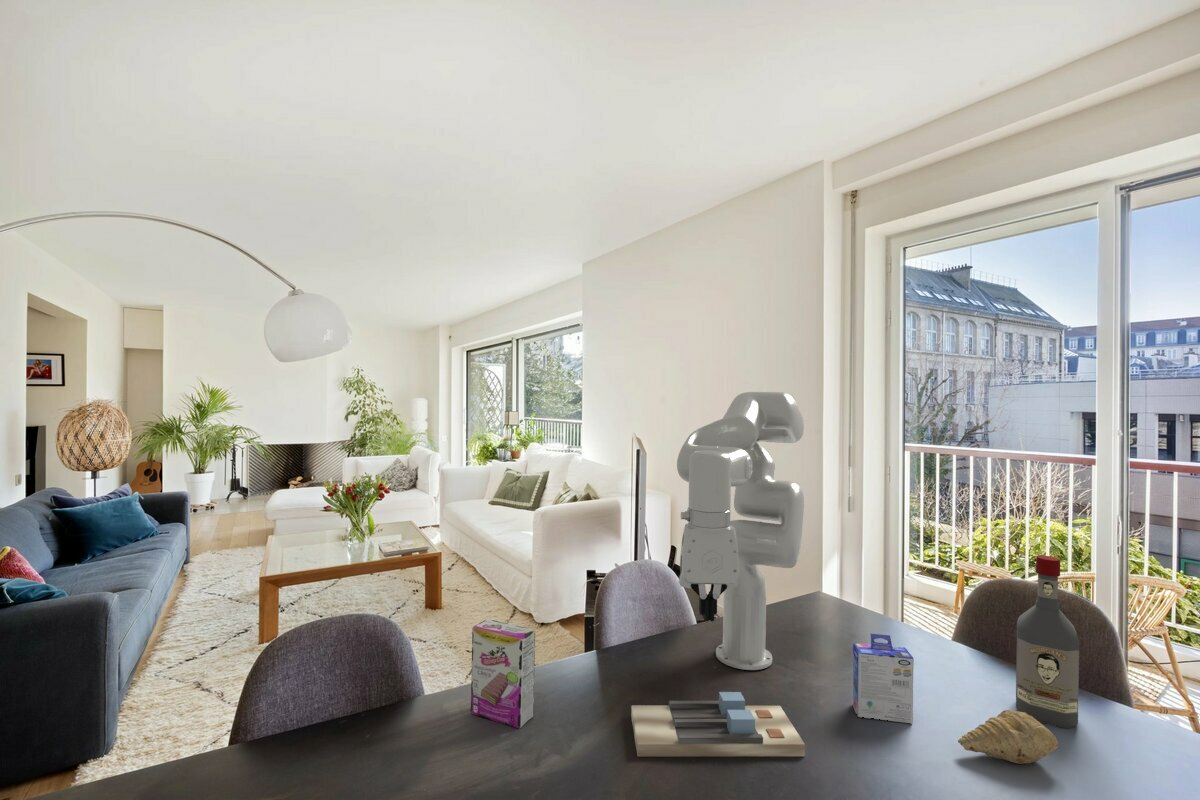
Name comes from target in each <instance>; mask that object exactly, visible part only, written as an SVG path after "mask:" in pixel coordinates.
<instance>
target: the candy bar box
mask: <svg viewBox="0 0 1200 800" xmlns="http://www.w3.org/2000/svg"><path fill="white" fill-rule="evenodd" d="M471 628H472V631H471V632H472V634H471V639H472V640H471V677H470V679H471V685H470V686H471V687H470V691H471V694H470V695H471V696H470V714H471V715H475V716H477V717H482V718H485V719H487V720H490V721H494V722H497V723H500V724H504V725H508V726H510V727H514V728H517V729H521V728H522V727H524V726H525V724H527V723H528V722H529V721H530V720H531V719H532V718H533V717H534V709H535V708H534V707H535V662H536V661H535V659H536V657H535V655H536V650H535V649H536V630H535V629H533V628H528V627H525V626H524V627H523V626H519V625H516V624H515V625H514V624H511V623H507V622H503V621H502V622H501V621H497V620H493V619H489V618H487V619H484V620H482V621H481V622H480V623H479V622H478V623H477V624H476V625H474V626H473V627H471Z"/></svg>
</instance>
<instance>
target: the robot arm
mask: <svg viewBox="0 0 1200 800" xmlns="http://www.w3.org/2000/svg"><path fill="white" fill-rule="evenodd" d="M804 421H805V420H804V417H803V414H802V411H801V410H800V408H799V406H798V404H797V402H796V400H795V399H794V397H793V396H792V395H790V394H789V393H786V392H783V391H769V392H768V391H748V392H742V393H740V394H737V396H735V397H734V398H733V400H732V401H731V403H730V405H729V406H728V409H727V411H726V412H725V414H724V416H723V417H722V418H720V419H718V420H714V421H713V422H711V423H709V424H706V425H704V426H701V427H699V428H698V429H696V430H694V431H693V432H691V433H690V434H689V436H688V437H687V438H686V439H685V441H684V443H683V445H682V446H681V449H680V450H679V452H678V455H677V459H676V470H677V472H678V475H679V477H680V478H681V479H682V480H683V481H685V482H687V483H688V507H687V509H686V511H680V520H684V521H687V523H685V524H684V527H683V532H682V539H681V546H680V547H681V548H680V558H679V571H680V576H679V578H678V579H679V580H678V584H679V586H680V587H682V588H686V589H690V590H692V591H694V593H696V595H697V596H698V598H699V599H698V600H699V601H698V604H699V605H698V612H699V615H700V616H702V618H703V620H704V621H705V622H709V621H710V622H715V615H716V616H717V615H718V600H719V599H720V597H721V595H722V594H723V608H722V609H723V611H722V612H723V613H722V614H723V616H722V620H723V621H722V622H723V623H722V643H721V644H719V645H718V646H717V647H716V649H715V656H716V659H718V661H720V662H721V663H723V664H724V665H726V666H729V667H731V668H734V669H739V670H745V671H759V670H763V669H766V668H768V667H770V666H771V665H772V664H773V655H772V653H771V651H769V650H768V649H766V639H767V638H766V636H767V635H766V631H767V581H766V579H765V576H764V574H763V573H762V571H761V570H760V568H759V567H758V566H765V567H771V568H779V569H792V568H795V566H797V564H798V562H799V560H800V559H799V558H800V554H801V546H802V535H803V523H804V515H805V514H804V513H805V512H804V511H805V499H804V498H805V497H804V493H803V489H802V488H801V486H800V485H799V484H798V483H795V482H794V481H793V482H792V481H788V480H776V479H775V478H774V477H775V470H776V464H775V461H774V460H773V458H772V457H771V455H770V454H769V452H768V451H767V450H766V448H764V447H763V446H762V445H761V444H760V443H777V444H778V443H779V444H793V443H798V442H799V441H800V440H801V439H802V437H803V435H804V428H805V422H804ZM732 487H734V488H735V490H734V495H733V496H734V497H733V507H734V511H735V512H736V514H737V515H739V516H740V517H744V518H748V519H752V520H747V519H733V520H731V499H732V498H731V497H732V496H731V493H732V492H731V491H732V489H731V488H732ZM756 520H757V521H756ZM758 520H761V521H758ZM763 521H771V522H772V523H771V522H763ZM774 522H778V523H774ZM706 585H710V588H709V591H708V593H707V589H706Z"/></svg>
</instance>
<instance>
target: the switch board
mask: <svg viewBox="0 0 1200 800" xmlns="http://www.w3.org/2000/svg"><path fill="white" fill-rule="evenodd" d="M630 709H631V710H630V711H631V713H630V716H631V722H632V723H631V724H632V731H633V736H634V743H635V749H636V755H637V757H805V756H806V744H805V742H804V741H803V739H802V737H801V735H800V734H799V732H797V730H796V728H795V726H794V725H793V724H792V722H791V720H790V719H789V717H788V716H787V714H786V712H785V711H784V710H783V708H782V706H781V705H745V710H750V711H751V713H752V715H753V716H754V718H755V734H730V733H729V731H728V729H727V714H721V712H720V710H719V700H669V701H668V705H665V704H664V705H660V704H659V705H657V704H656V705H654V704H652V705H650V704H649V705H648V704H647V705H644V704H643V705H641V704H638V705H637V704H636V705H635V704H634V705H631V707H630Z"/></svg>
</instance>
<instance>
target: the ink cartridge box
mask: <svg viewBox="0 0 1200 800" xmlns="http://www.w3.org/2000/svg"><path fill="white" fill-rule="evenodd" d="M878 639H883V640H885V641H887V643H886V642H877V641H875V640H878ZM914 660H915V659H914V657H913V655H912V654H911V653H910V651H909V650H908V649H907V648H906V647H905V646H894V645H893V644H892V640H891V635H889V634H888V635H887V634H879V633H870V644H867V643H856V642H853V644H852V666H853V667H852V669H853V670H852V673H853V674H852V676H853V677H852V680H853V681H852V683H853V684H852V686H853V687H852V707H853V709H854V712H855V715H856V714H857V715H856V716H857V717H859V718H862V717H864V718H863V719H871V718H874V719H873V720H879V719H880V720H881V721H887V720H888V721H890V722H896V723H903V724H904V723H906V724H913V723H914Z"/></svg>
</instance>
